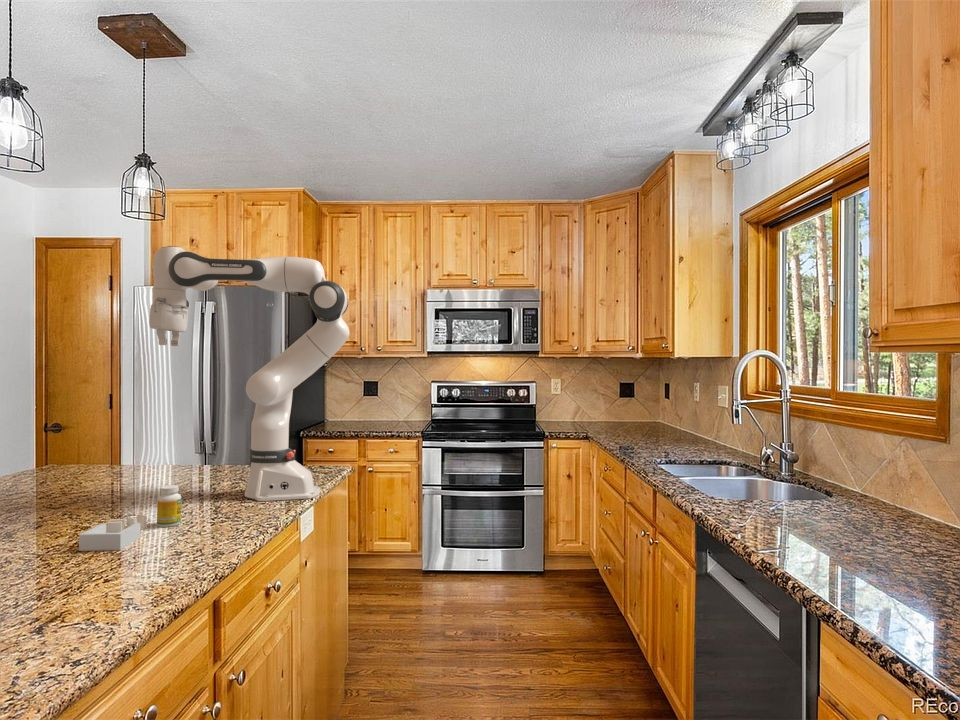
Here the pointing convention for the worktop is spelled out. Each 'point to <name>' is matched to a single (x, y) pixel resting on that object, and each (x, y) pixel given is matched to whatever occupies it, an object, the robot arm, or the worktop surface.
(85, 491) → the worktop surface
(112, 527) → the grey cube
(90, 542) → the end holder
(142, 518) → the clip
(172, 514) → the supplement bottle
